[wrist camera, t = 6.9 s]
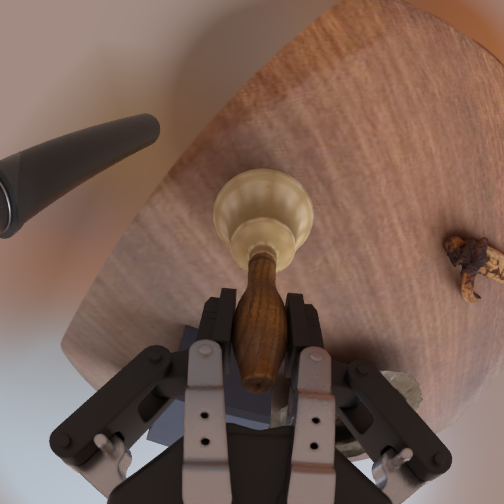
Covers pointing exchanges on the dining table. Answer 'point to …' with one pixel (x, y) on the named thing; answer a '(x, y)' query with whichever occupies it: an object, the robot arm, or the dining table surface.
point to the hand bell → (261, 263)
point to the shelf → (235, 397)
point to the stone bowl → (343, 436)
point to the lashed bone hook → (474, 263)
